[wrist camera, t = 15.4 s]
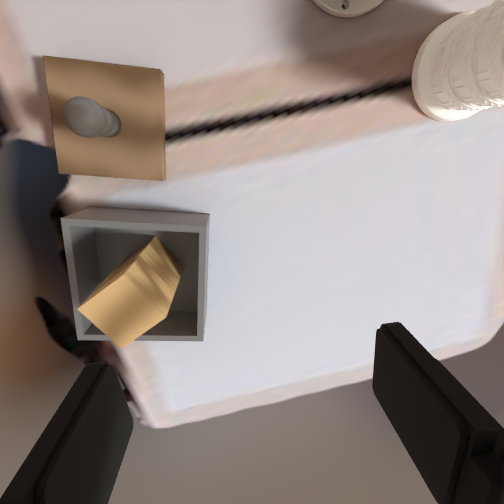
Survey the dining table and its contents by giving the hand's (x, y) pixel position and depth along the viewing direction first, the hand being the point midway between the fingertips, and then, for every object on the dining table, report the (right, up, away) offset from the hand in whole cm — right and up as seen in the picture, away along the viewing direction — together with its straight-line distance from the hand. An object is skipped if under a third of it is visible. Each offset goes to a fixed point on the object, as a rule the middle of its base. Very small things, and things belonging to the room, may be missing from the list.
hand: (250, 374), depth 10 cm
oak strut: (-14, +3, +29) cm, 32 cm away
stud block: (-17, +20, +24) cm, 35 cm away
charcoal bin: (-14, +3, +30) cm, 34 cm away
